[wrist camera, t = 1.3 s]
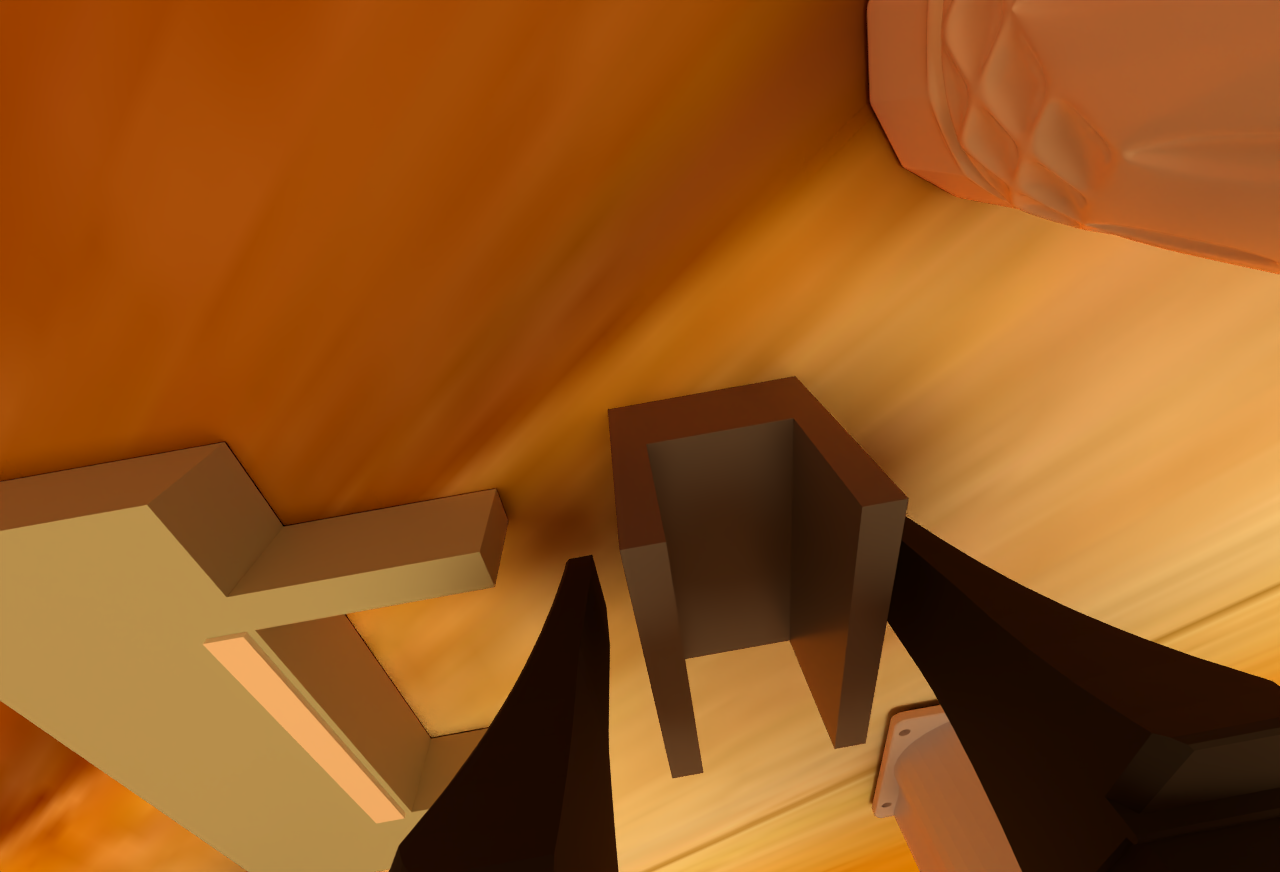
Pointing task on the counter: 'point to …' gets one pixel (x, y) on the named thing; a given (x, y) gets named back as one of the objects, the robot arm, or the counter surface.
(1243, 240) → the white cup
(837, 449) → the chute
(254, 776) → the tan bracket
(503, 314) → the counter surface
